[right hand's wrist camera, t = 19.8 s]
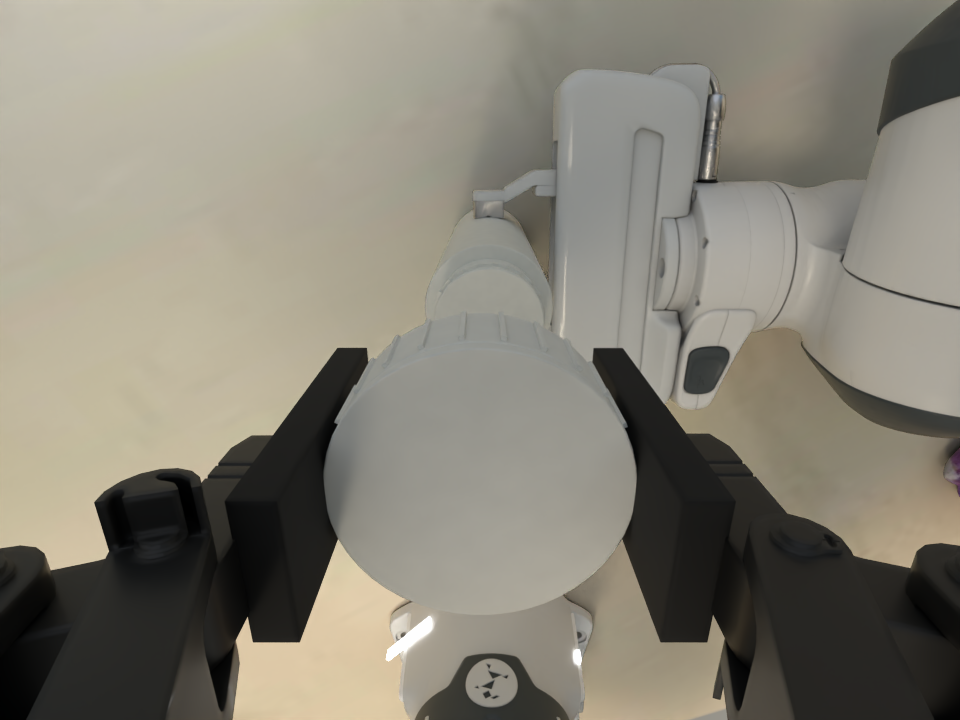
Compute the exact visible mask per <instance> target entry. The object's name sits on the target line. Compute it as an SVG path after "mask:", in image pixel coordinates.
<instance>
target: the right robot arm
mask: <svg viewBox="0 0 960 720" xmlns="http://www.w3.org/2000/svg"><path fill="white" fill-rule="evenodd" d="M592 363H593V364H594V366H595V368H596V370H597V372H598V373H599V375H600V377H601V379H602V381H603V383H604V385H605V386H606V388H607V389H608V390H609V392H610V394H611V396H612V398H613V400H614V401H615V403H616V405H617V407H618V409H619V411H620V412H621V414H622V416H623V418H624V420H625V422H626V424H627V426H628V427H626V428H625V430H626V432H627V435H628V437H629V440H630V443H631V445H632V448H633V452H634V457H635V462H636V467H637V483H636V492H635V500H634V507H633V513H632V517H631V520H630V523H629V525H628V527H627V530H626V532H625V534H624V536H623V538H622V539H623V542H624V545H625V547H626V550H627V553H628V555H629V558H630V561H631V564H632V566H633V569H634V572H635V574H636V577H637V580H638V583H639V585H640V588H641V591H642V593H643V596H644V599H645V601H646V604H647V607H648V610H649V612H650V615H651V618H652V620H653V623H654V626H655V628H656V631H657V634H658V637H659V639H660V642H707V641H708V636H709V631H710V627H711V622H712V617H713V615H714V617H715V619H716V621H717V623H718V625H719V627H720V629H721V631H722V633H723V635H724V637H725V640H724V644H723V649H722V653H721V658H720V663H719V667H718V672H717V676H716V681H715V685H714V692H713V698H715V699H719V700H720V699H721V695H722V690H723V687H724V694H725V702H726V710H727V718H728V720H960V546H957V545H950V544H943V543H939V544H929V545H925V546H923V547H922V548H921V549H919V550H918V551H917V552H916V555H915V558H914V560H913V563H912V566H911V568H906V567H902V566H897V565H892V564H887V563H882V562H877V561H872V560H868V559H863V558H859V557H856V556H853V554H852V552H851V550H850V549H849V547H848V546H847V545H846V544H845V542H844V541H843V540H842V539H841V538H840V537H839V536H837V535H836V534H834V533H833V532H832V531H830V530H829V529H827V528H826V527H824V526H822V525H820V524H817V523H815V522H813V521H811V520H809V519H805V518H802V517H798V516H794V515H790V514H787V513H786V512H785V510H784V509H783V508H782V507H781V506H780V505H779V503H778V502H777V501H776V500H775V499H774V498H773V496H772V495H771V494H770V493H769V492H768V491H767V489H766V488H765V487H764V486H763V485H762V484H761V482H760V481H759V480H758V479H757V478H756V477H753V473H752V472H751V471H750V470H749V468H748V467H747V466H746V465H745V464H742V460H741V459H740V458H739V457H738V456H737V454H736V453H735V452H734V451H733V450H732V449H731V447H730V446H728V445H727V444H725V443H723V442H722V441H720V440H718V439H717V438H715V437H713V436H712V435H710V434H686V433H685V431H684V430H683V429H682V427H681V426H680V425H679V423H678V422H677V421H676V419H675V418H674V417H673V415H672V414H671V413H670V411H669V410H668V408H667V407H666V406H665V404H664V403H663V402H662V400H661V399H660V398H659V396H658V395H657V394H656V392H655V391H654V390H653V388H652V387H651V385H650V384H649V383H648V381H647V380H646V379H645V377H644V376H643V375H642V373H641V372H640V371H639V369H638V368H637V367H636V365H635V364H634V362H633V361H632V360H631V358H630V357H629V356H628V354H627V353H626V352H625V350H624V349H623V348H593V360H592ZM367 365H368V356H367V348H337V349H336V351H335V352H334V353H333V355H332V356H331V358H330V359H329V360H328V362H327V363H326V364H325V366H324V367H323V368H322V370H321V371H320V372H319V374H318V375H317V376H316V378H315V379H314V381H313V382H312V383H311V385H310V386H309V387H308V389H307V390H306V391H305V393H304V394H303V395H302V397H301V398H300V399H299V401H298V402H297V404H296V405H295V406H294V408H293V409H292V410H291V412H290V413H289V414H288V416H287V417H286V418H285V420H284V421H283V423H282V424H281V425H280V427H279V428H278V429H277V431H276V432H275V433H274V435H273V436H250V437H248V438H247V439H245V440H244V441H242V442H240V443H239V444H237V445H235V446H234V447H232V448H231V449H230V450H229V451H228V452H227V454H226V455H225V456H224V457H223V458H222V459H221V461H220V462H219V463H218V464H219V465H218V466H215V468H214V469H213V470H212V471H211V472H210V474H209V475H208V479H204V481H203V482H202V483H201V480H200V477H199V476H198V475H197V474H195V473H194V472H193V471H190V470H184V469H179V468H174V469H159V470H154V471H150V472H146V473H141V474H138V475H136V476H133V477H131V478H128V479H126V480H123V481H121V482H119V483H117V484H116V485H114V486H113V487H111V488H109V489H108V490H106V491H104V493H103V494H102V495H101V496H100V497H99V498H98V499H97V500H96V501H95V502H94V503H95V507H96V510H97V513H98V516H99V520H100V523H101V526H102V529H103V533H104V536H105V539H106V542H107V546H108V549H109V553H108V555H107V557H106V559H103V560H99V561H95V562H90V563H85V564H80V565H75V566H71V567H66V568H61V569H56V570H50V567H49V565H48V562H47V559H46V556H45V554H44V553H43V552H42V551H40V550H39V549H38V548H36V547H28V546H14V547H7V548H1V549H0V720H232V719H233V711H234V704H235V696H236V688H237V680H238V672H239V664H240V662H239V655H238V649H237V644H236V638H237V637H238V635H239V633H240V631H241V629H242V627H243V625H244V623H245V621H246V619H247V617H248V620H249V625H250V630H251V635H252V640H253V642H300V640H301V637H302V635H303V632H304V629H305V627H306V624H307V621H308V619H309V616H310V613H311V610H312V608H313V605H314V602H315V600H316V597H317V594H318V592H319V589H320V586H321V583H322V581H323V578H324V575H325V573H326V570H327V567H328V564H329V562H330V559H331V556H332V554H333V551H334V548H335V546H336V543H337V540H338V537H337V535H336V533H335V531H334V529H333V527H332V524H331V522H330V519H329V515H328V511H327V504H326V496H325V488H324V478H323V470H324V464H325V458H326V452H327V450H328V447H329V444H330V441H331V438H332V435H333V433H334V431H335V429H336V427H337V425H338V424H336V423H334V422H335V420H336V418H337V416H338V414H339V412H340V410H341V408H342V407H343V405H344V403H345V401H346V399H347V398H348V396H349V394H350V392H351V390H352V388H353V387H354V385H357V383H358V381H359V379H360V378H361V376H362V374H363V372H364V370H365V368H366V366H367Z"/></svg>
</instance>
